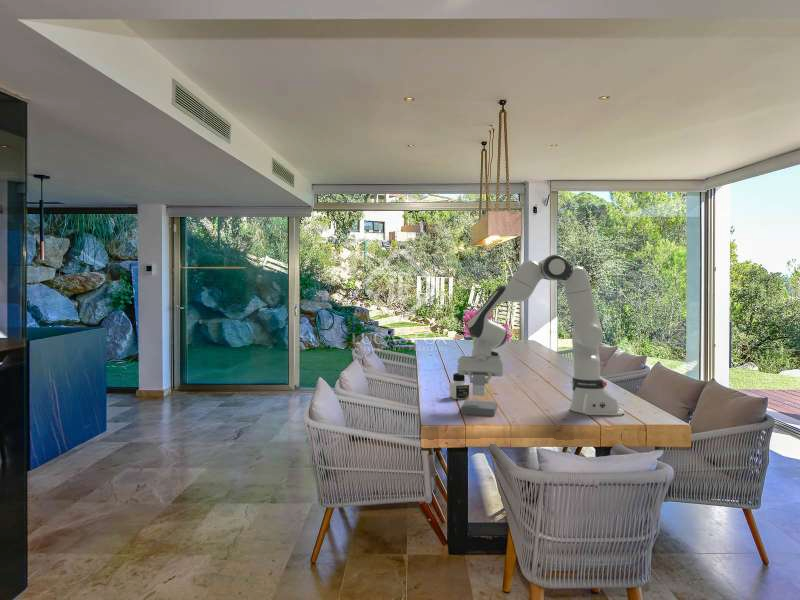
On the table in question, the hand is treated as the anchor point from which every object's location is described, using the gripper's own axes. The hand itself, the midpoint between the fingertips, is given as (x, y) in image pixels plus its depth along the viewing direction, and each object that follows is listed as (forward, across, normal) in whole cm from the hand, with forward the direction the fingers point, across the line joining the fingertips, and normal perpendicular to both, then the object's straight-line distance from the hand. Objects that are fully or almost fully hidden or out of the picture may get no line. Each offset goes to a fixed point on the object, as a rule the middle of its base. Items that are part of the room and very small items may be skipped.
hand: (479, 382), depth 233 cm
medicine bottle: (-10, -12, +28) cm, 32 cm away
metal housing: (+3, 0, +4) cm, 5 cm away
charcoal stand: (+9, 0, +10) cm, 13 cm away
